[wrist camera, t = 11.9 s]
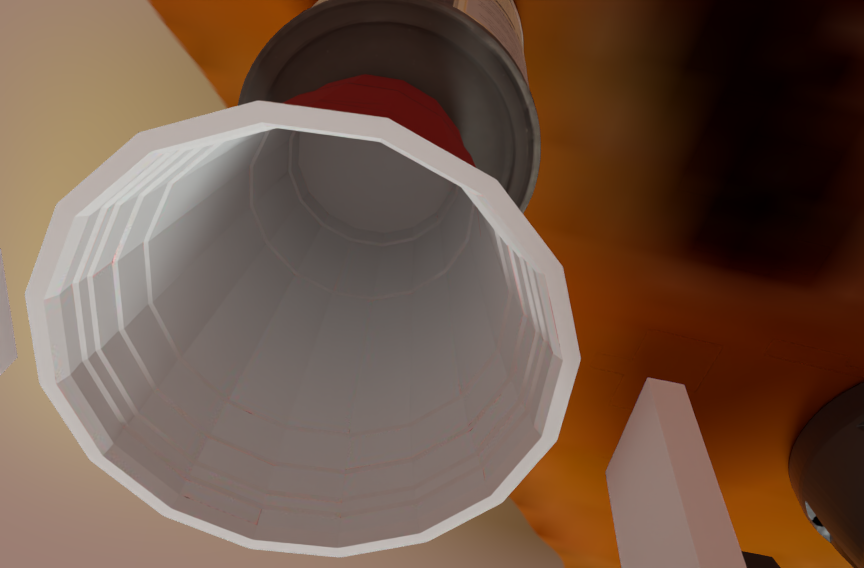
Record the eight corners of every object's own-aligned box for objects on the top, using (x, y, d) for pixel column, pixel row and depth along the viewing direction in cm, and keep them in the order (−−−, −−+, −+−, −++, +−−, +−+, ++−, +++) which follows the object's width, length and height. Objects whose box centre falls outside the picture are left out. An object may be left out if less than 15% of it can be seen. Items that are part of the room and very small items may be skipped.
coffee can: (407, 183, 40) (369, 331, 28) (279, 30, 36) (171, 124, 24) (566, 72, 36) (601, 187, 24) (442, -114, 32) (409, -86, 20)
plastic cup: (593, 230, 25) (660, 498, 15) (327, 329, 28) (231, 607, 18) (462, -86, 20) (428, -12, 10) (159, 76, 23) (-104, 258, 13)
